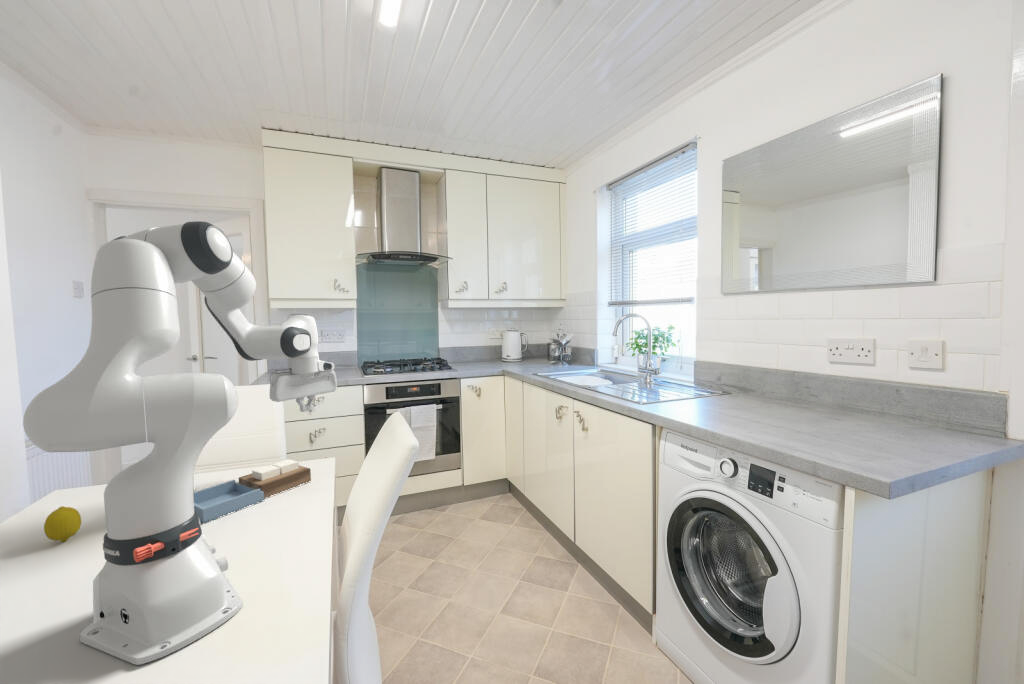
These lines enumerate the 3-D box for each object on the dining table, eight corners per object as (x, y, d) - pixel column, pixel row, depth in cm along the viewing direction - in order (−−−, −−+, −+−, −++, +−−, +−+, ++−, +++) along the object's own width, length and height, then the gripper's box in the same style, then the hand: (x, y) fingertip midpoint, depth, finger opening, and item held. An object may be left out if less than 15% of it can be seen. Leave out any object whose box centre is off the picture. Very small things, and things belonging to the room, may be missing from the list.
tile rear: (298, 468, 122) (298, 461, 122) (281, 473, 118) (281, 467, 117) (288, 465, 124) (288, 459, 124) (272, 471, 120) (271, 464, 120)
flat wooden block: (311, 481, 122) (310, 468, 121) (262, 500, 110) (261, 485, 109) (287, 474, 128) (287, 462, 127) (239, 491, 116) (238, 477, 115)
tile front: (280, 474, 117) (279, 467, 117) (262, 480, 113) (261, 473, 113) (270, 471, 120) (270, 464, 120) (252, 477, 115) (252, 470, 115)
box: (264, 500, 109) (263, 488, 109) (203, 523, 97) (202, 509, 97) (237, 490, 116) (236, 478, 116) (178, 511, 104) (177, 497, 104)
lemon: (43, 551, 87) (40, 515, 86) (48, 541, 91) (45, 506, 90) (80, 541, 90) (77, 506, 90) (84, 532, 94) (81, 498, 94)
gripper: (275, 371, 115) (278, 419, 116) (338, 363, 133) (340, 405, 134) (263, 370, 118) (266, 417, 119) (326, 362, 136) (328, 403, 137)
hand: (306, 410), depth 127 cm, fingers closed
